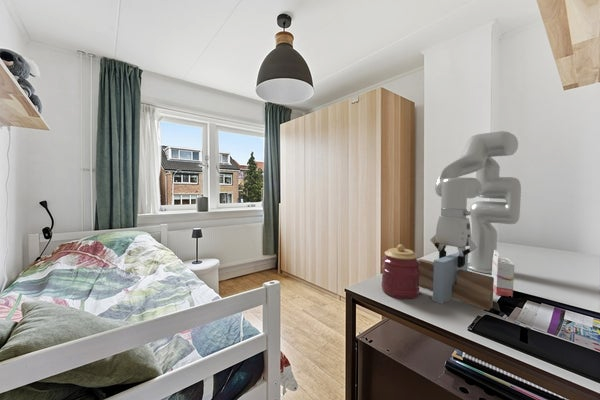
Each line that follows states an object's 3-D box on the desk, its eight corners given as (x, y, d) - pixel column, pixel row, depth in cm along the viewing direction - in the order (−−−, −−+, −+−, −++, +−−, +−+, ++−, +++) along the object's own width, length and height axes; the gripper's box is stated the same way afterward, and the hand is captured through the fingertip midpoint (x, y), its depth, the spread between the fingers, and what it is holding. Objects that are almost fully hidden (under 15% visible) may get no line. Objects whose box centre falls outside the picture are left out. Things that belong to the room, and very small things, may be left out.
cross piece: (457, 288, 94) (459, 251, 93) (466, 290, 92) (468, 253, 91) (432, 300, 84) (434, 260, 83) (441, 304, 82) (443, 262, 81)
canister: (395, 282, 100) (396, 239, 99) (426, 293, 89) (428, 245, 88) (374, 289, 93) (374, 243, 92) (405, 303, 82) (406, 251, 81)
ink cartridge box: (513, 297, 86) (516, 256, 85) (495, 294, 88) (497, 254, 87) (507, 288, 94) (509, 250, 93) (490, 286, 96) (492, 248, 95)
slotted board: (420, 283, 99) (421, 258, 98) (492, 308, 79) (493, 277, 78) (416, 285, 97) (416, 260, 96) (488, 310, 77) (490, 279, 76)
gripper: (486, 215, 81) (484, 269, 82) (434, 210, 95) (432, 256, 96) (476, 216, 77) (474, 273, 78) (423, 211, 91) (422, 260, 92)
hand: (451, 263), depth 87 cm, fingers open, 5 cm apart
